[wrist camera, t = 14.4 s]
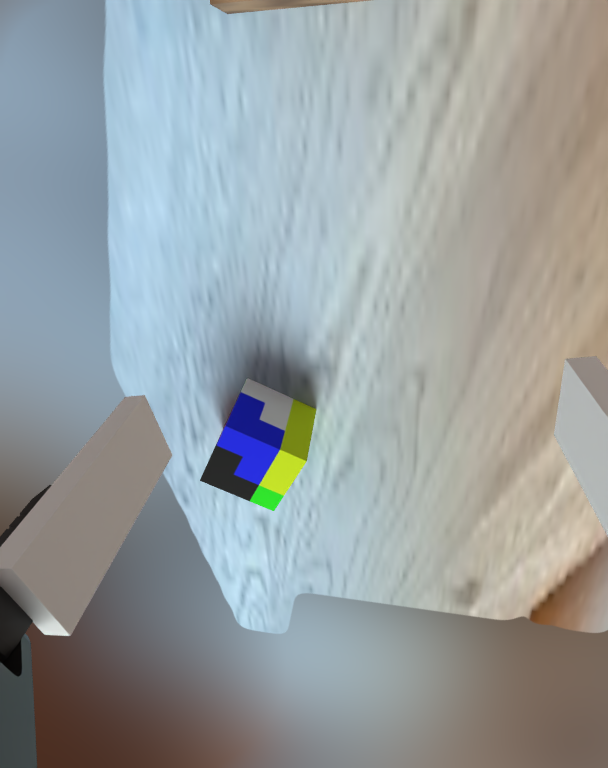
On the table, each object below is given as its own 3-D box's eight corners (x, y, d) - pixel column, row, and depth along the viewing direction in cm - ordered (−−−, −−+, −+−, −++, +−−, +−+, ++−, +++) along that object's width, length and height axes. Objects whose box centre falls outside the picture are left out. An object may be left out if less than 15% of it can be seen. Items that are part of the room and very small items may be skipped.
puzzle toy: (247, 377, 56) (225, 425, 48) (316, 408, 58) (306, 461, 49) (223, 429, 62) (199, 480, 54) (286, 456, 63) (273, 511, 55)
